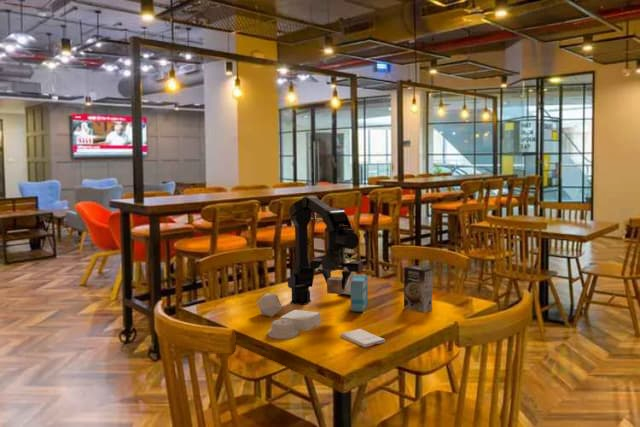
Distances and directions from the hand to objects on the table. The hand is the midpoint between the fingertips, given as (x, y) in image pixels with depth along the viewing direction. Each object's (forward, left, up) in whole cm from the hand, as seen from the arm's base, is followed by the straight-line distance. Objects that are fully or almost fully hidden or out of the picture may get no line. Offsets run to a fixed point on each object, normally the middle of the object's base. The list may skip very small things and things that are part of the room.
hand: (336, 288), depth 196 cm
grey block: (-9, -12, -11) cm, 18 cm away
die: (-25, -5, -11) cm, 27 cm away
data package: (+3, +15, -11) cm, 19 cm away
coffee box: (+24, +22, -11) cm, 35 cm away
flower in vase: (-8, +35, -11) cm, 38 cm away
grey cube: (0, 0, -1) cm, 1 cm away
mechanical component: (-10, -23, -11) cm, 27 cm away
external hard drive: (+16, -18, -12) cm, 27 cm away
